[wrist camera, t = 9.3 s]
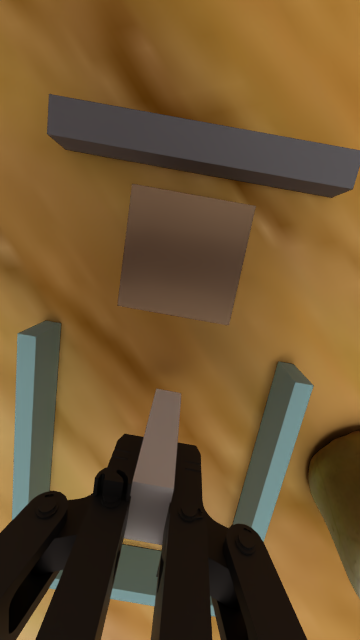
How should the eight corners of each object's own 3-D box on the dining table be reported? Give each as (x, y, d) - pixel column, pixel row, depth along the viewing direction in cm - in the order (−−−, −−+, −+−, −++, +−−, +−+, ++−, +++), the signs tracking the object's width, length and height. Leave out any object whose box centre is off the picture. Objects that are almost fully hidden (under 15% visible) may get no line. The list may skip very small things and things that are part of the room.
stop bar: (67, 115, 18) (49, 94, 15) (341, 164, 18) (364, 151, 15) (65, 149, 18) (46, 133, 16) (331, 197, 18) (352, 189, 16)
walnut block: (150, 205, 19) (132, 183, 13) (235, 221, 19) (255, 206, 13) (138, 290, 20) (117, 305, 14) (217, 305, 20) (228, 325, 14)
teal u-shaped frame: (45, 320, 21) (17, 333, 17) (293, 364, 21) (313, 385, 18) (33, 538, 26) (10, 581, 23) (232, 572, 26) (238, 620, 23)
